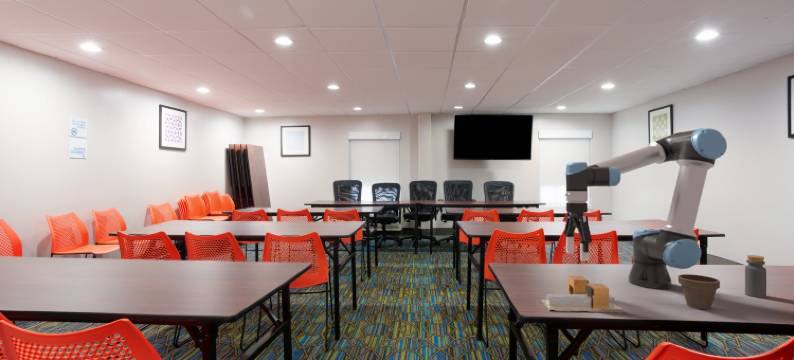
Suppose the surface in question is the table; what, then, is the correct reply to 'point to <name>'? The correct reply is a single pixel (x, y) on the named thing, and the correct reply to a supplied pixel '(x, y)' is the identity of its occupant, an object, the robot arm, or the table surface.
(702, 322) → the table surface
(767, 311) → the table surface
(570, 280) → the orange cube
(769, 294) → the table surface
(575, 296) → the rail
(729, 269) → the table surface
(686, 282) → the flower pot
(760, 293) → the bottle
